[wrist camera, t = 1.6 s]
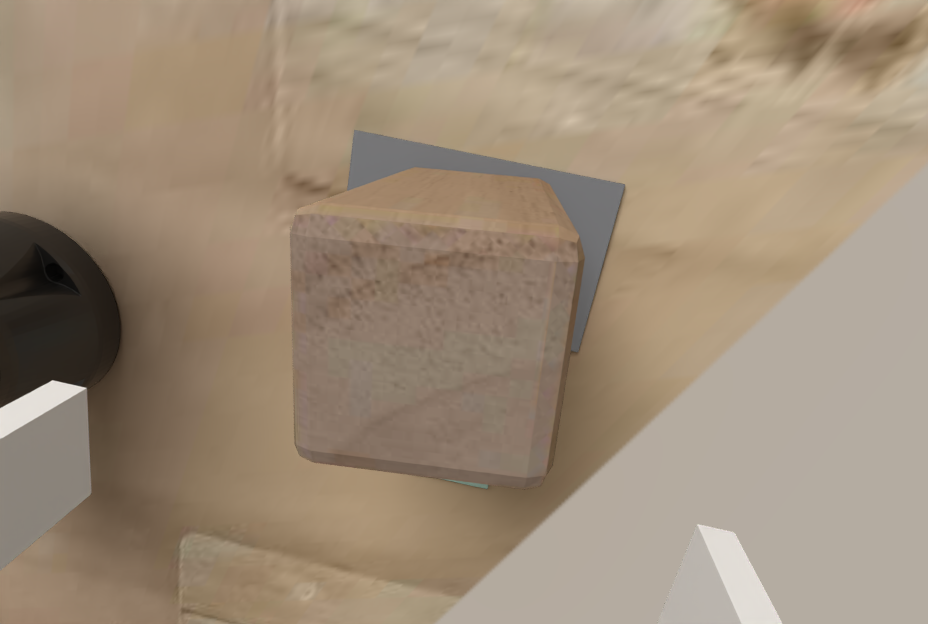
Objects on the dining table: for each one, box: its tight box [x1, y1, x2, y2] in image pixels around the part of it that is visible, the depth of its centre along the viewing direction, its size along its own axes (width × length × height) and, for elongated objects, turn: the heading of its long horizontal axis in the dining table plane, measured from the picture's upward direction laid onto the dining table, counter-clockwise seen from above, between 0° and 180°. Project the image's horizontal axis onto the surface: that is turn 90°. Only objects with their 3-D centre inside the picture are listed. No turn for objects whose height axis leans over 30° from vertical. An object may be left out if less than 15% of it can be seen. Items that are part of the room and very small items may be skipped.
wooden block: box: [290, 167, 585, 489], centre depth 28 cm, size 10×10×20 cm
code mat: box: [347, 130, 625, 352], centre depth 38 cm, size 18×12×1 cm, turn 79°
